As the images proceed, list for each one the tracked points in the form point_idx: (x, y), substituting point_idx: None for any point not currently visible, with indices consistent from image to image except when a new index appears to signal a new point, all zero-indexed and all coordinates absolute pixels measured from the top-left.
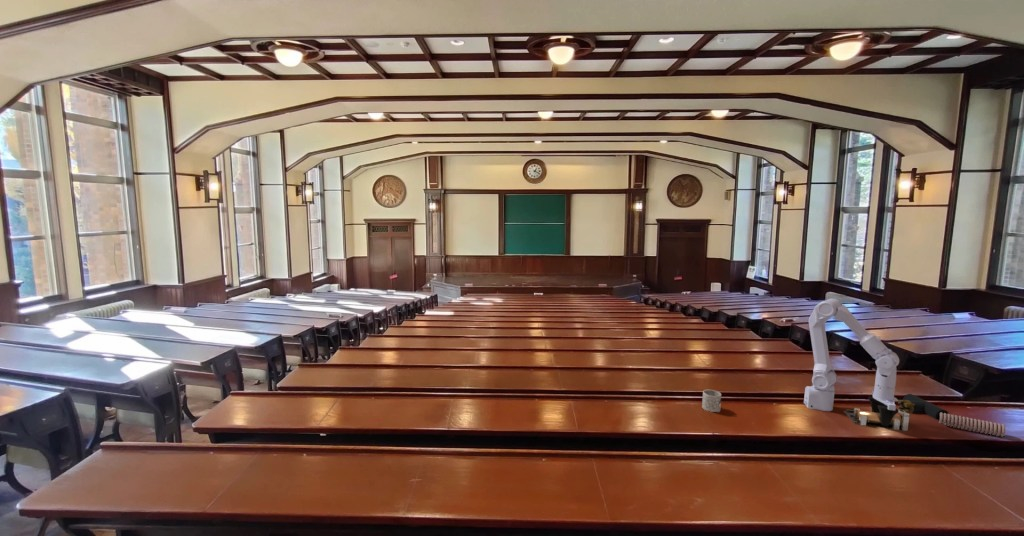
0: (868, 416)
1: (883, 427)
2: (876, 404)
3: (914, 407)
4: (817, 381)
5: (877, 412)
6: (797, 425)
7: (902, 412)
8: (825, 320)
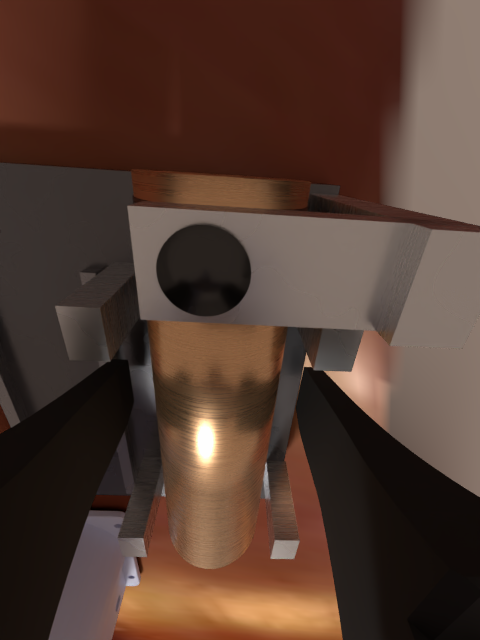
0: (257, 507)
1: (293, 375)
2: (55, 539)
3: None
4: None
5: (109, 420)
6: (308, 612)
7: (306, 306)
8: None
